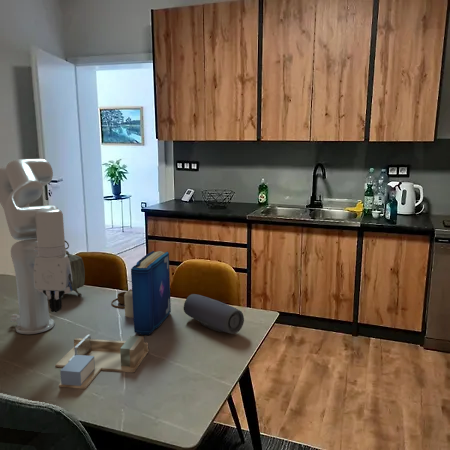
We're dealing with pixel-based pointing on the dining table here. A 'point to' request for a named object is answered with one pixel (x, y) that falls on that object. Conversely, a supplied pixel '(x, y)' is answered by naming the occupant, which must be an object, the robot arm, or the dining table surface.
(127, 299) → the candle
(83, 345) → the bookend
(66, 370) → the blue-grey rectangular block
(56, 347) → the dining table surface
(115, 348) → the wooden platform
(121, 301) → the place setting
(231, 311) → the bluetooth speaker
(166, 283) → the blue volume
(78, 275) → the tabletop clock
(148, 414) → the dining table surface
